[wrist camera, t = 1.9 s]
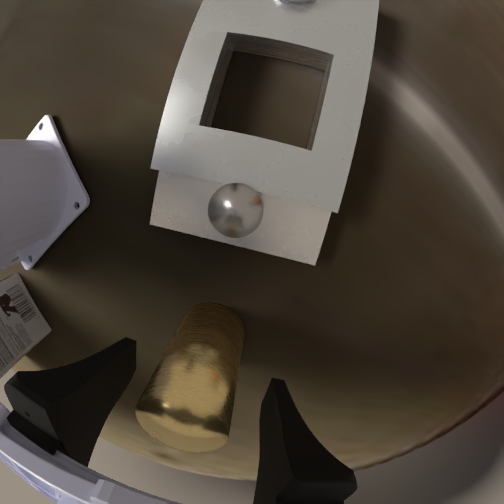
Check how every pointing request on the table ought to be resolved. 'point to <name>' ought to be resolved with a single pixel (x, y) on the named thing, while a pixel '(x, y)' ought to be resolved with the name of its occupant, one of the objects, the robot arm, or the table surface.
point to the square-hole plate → (255, 148)
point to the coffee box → (18, 322)
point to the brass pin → (195, 382)
